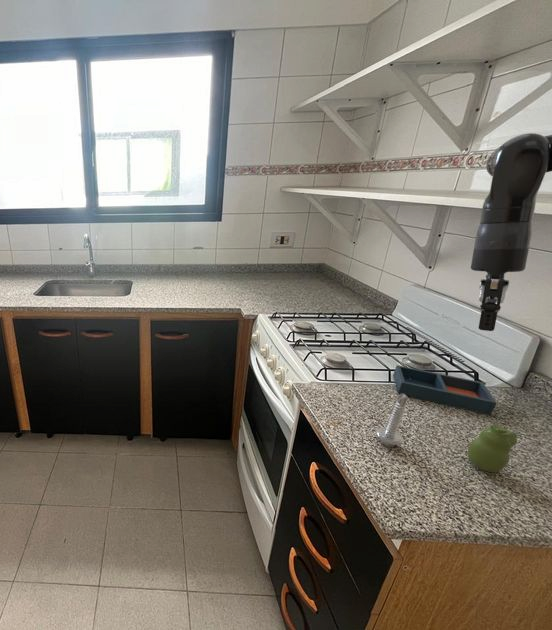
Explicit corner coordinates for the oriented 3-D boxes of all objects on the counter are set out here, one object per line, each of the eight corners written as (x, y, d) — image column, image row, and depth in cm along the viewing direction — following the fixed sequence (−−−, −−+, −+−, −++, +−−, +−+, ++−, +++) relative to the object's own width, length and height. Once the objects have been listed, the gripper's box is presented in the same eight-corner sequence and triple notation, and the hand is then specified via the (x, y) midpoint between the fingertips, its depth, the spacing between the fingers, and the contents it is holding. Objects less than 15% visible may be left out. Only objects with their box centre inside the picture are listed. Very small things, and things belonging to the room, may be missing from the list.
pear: (457, 460, 71) (476, 422, 67) (472, 453, 72) (492, 415, 68) (491, 481, 66) (514, 441, 62) (507, 473, 68) (530, 433, 64)
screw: (378, 431, 78) (403, 444, 75) (369, 441, 76) (394, 454, 72) (395, 384, 73) (423, 395, 70) (386, 392, 71) (414, 404, 67)
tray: (477, 393, 91) (482, 382, 89) (490, 415, 83) (496, 403, 82) (392, 375, 99) (396, 364, 97) (397, 393, 91) (401, 382, 90)
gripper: (532, 247, 60) (514, 336, 64) (527, 245, 70) (512, 323, 73) (472, 247, 66) (459, 330, 69) (475, 246, 75) (463, 318, 79)
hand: (486, 326), depth 71 cm, fingers open, 8 cm apart
